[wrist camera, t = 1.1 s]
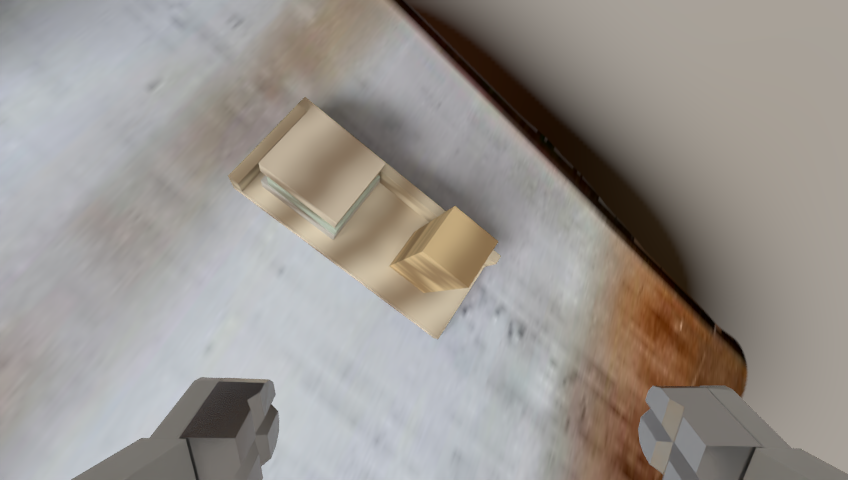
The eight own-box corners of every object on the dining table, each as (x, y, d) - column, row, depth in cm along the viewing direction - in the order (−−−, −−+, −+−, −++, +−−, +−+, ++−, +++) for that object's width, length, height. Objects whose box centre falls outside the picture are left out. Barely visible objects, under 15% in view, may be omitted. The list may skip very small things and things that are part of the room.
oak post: (389, 266, 39) (422, 251, 29) (414, 231, 41) (454, 205, 31) (424, 292, 40) (468, 287, 30) (447, 258, 41) (498, 241, 31)
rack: (234, 188, 37) (228, 175, 34) (304, 115, 41) (305, 96, 37) (434, 338, 41) (447, 340, 37) (484, 260, 44) (501, 256, 40)
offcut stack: (262, 186, 37) (256, 164, 31) (311, 133, 39) (314, 104, 34) (332, 240, 38) (339, 228, 33) (376, 185, 40) (389, 166, 35)
